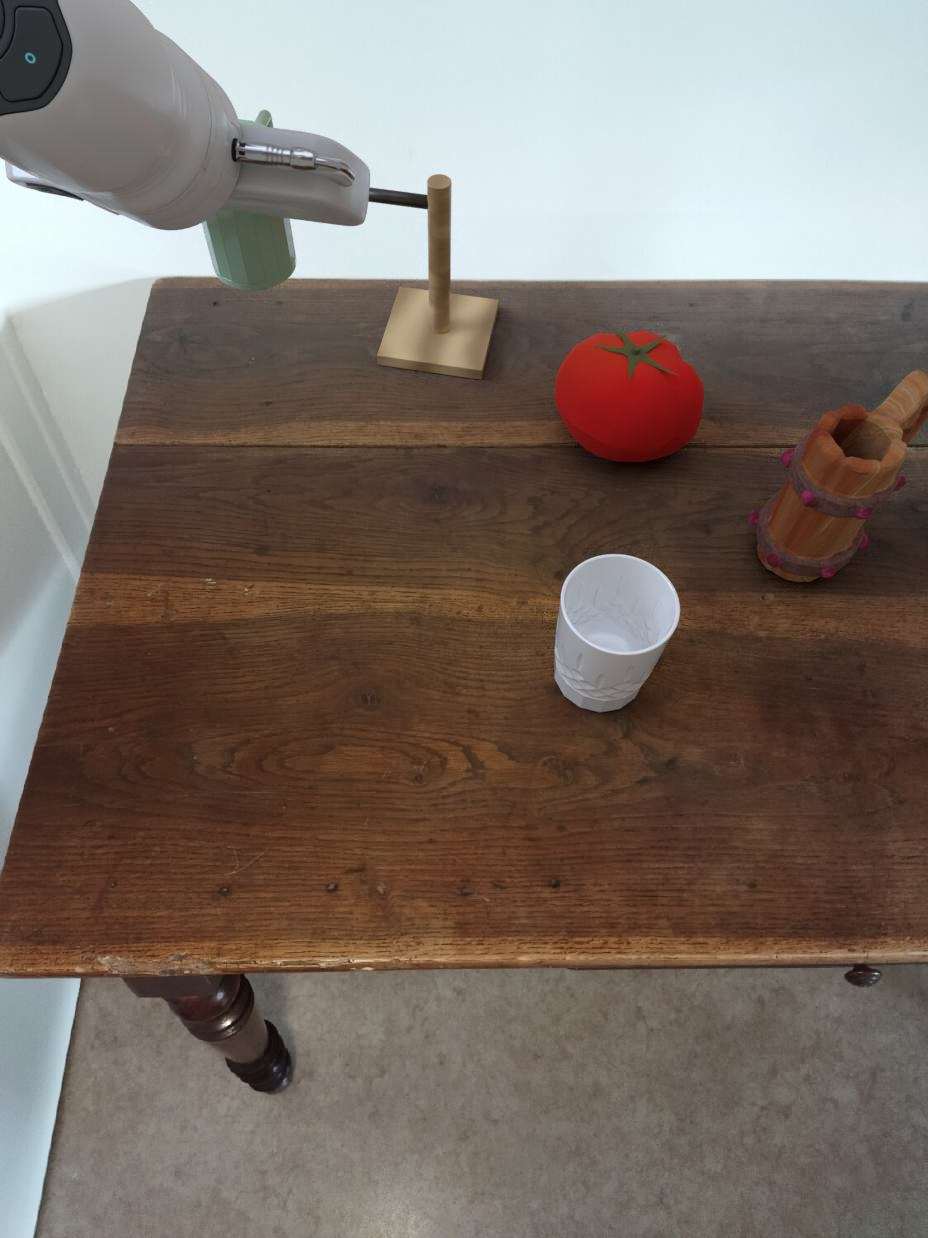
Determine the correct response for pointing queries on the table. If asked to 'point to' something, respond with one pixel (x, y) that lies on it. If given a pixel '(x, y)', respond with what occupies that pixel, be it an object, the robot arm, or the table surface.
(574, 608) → the white cup
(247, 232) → the enamel mug
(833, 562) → the mug
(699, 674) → the table surface
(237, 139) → the robot arm
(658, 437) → the tomato
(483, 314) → the mug stand
